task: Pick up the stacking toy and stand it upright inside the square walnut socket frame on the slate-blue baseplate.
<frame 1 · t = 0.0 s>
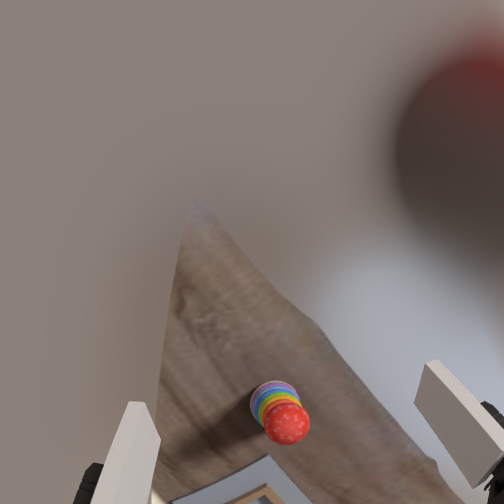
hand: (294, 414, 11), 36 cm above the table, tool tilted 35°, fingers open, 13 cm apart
stacking toy: (274, 403, 43), on the table
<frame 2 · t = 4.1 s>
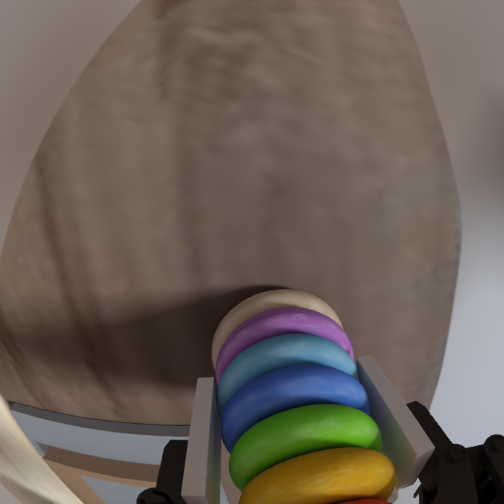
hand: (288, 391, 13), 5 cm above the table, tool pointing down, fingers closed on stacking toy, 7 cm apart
baseplate: (131, 484, 21), on the table
stacking toy: (276, 342, 18), on the table, touching gripper
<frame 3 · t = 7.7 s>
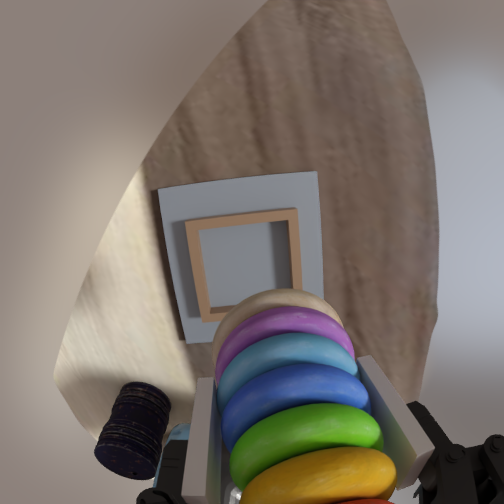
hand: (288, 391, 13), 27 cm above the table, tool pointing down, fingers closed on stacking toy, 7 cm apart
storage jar: (145, 400, 45), on the table
baseplate: (246, 261, 39), on the table
stacking toy: (277, 341, 18), point 22 cm above the table, touching gripper
when the fingers open (7 cm above the table, at t = 11.4 s): stacking toy drops 1 cm, resting on baseplate.
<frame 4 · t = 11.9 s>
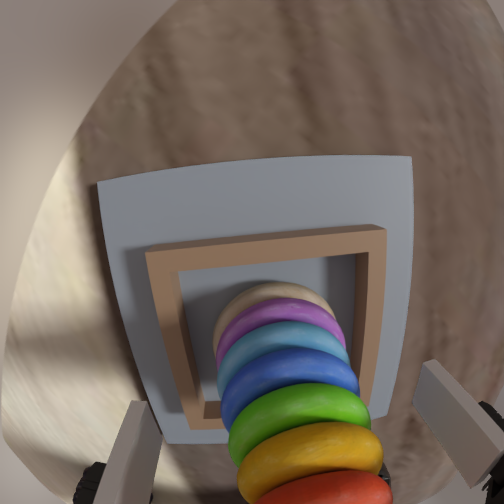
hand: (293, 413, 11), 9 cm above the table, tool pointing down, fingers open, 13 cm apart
baseplate: (272, 325, 20), on the table
stacking toy: (273, 333, 19), point 1 cm above the table, touching baseplate
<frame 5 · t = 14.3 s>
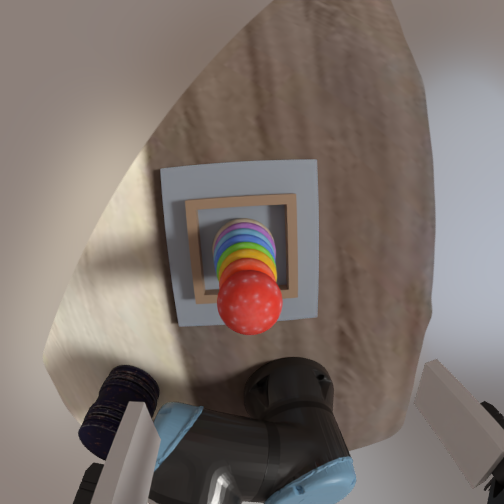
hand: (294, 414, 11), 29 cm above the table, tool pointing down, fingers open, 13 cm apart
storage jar: (133, 385, 45), on the table
baseplate: (243, 245, 39), on the table
stacking toy: (243, 247, 38), point 1 cm above the table, touching baseplate
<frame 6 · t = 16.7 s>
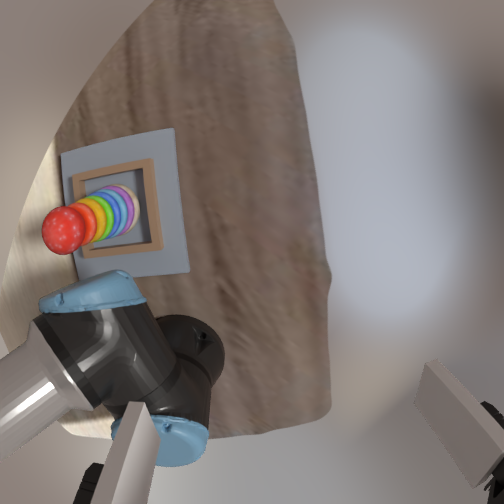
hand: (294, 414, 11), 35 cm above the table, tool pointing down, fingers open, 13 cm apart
baseplate: (120, 208, 43), on the table
stacking toy: (118, 209, 42), point 1 cm above the table, touching baseplate
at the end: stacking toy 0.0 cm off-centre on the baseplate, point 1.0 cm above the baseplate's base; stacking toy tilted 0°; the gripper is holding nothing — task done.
